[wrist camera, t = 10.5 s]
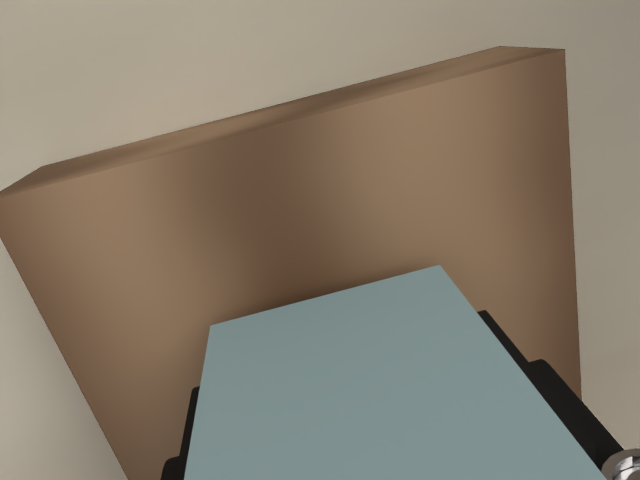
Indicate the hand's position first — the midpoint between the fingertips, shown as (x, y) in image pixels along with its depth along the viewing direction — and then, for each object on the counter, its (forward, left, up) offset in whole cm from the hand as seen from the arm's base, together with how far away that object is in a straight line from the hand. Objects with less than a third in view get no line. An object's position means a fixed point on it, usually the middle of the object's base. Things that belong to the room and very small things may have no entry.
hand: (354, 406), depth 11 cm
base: (0, 0, -4) cm, 4 cm away
